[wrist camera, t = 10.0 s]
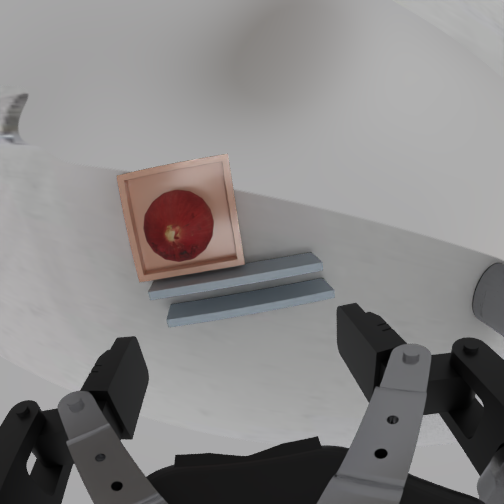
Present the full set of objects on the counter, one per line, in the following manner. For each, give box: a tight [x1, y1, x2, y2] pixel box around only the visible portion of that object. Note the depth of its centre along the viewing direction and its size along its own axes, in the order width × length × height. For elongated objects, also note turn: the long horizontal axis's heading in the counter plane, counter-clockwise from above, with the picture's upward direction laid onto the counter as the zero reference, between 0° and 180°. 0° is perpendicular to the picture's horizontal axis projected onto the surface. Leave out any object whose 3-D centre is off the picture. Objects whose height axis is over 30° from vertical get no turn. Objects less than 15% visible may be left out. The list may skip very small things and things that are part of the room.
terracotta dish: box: [117, 154, 245, 282], centre depth 29 cm, size 10×10×2 cm
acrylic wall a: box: [167, 278, 335, 327], centre depth 31 cm, size 16×1×4 cm, turn 98°
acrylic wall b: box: [148, 252, 323, 300], centre depth 30 cm, size 16×1×4 cm, turn 98°
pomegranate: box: [143, 190, 214, 262], centre depth 25 cm, size 6×6×8 cm
